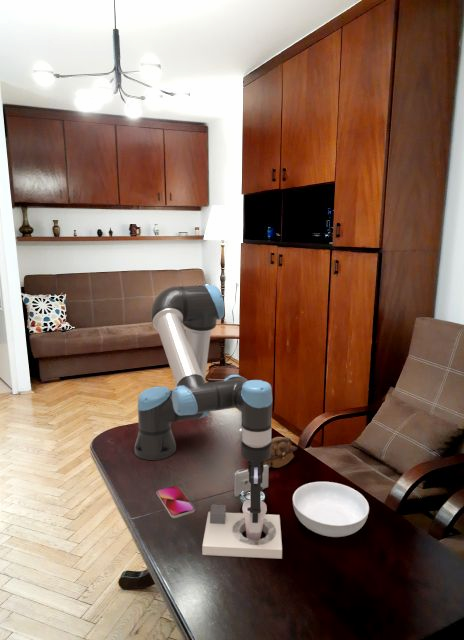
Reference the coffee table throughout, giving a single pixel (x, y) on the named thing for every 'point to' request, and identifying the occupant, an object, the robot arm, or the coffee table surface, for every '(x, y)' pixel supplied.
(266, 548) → the dock plate
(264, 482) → the cassette
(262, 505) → the smoothie
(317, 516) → the serving bowl
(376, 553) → the coffee table surface
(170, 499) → the smartphone
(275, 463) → the wooden carving
